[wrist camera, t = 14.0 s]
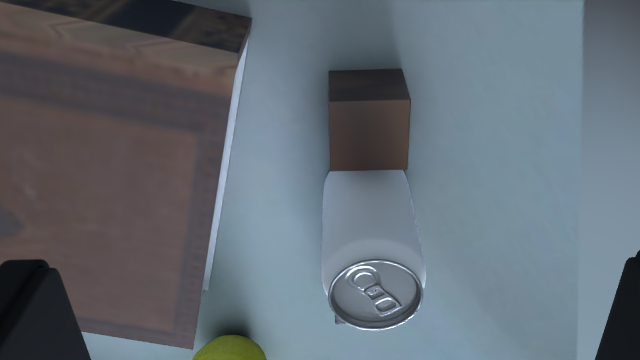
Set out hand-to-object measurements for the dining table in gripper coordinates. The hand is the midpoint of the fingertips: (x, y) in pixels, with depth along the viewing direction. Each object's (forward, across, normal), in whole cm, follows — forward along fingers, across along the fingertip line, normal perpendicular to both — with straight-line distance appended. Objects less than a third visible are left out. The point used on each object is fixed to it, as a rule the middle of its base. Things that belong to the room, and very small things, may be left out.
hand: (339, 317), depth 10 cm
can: (+31, -2, +17) cm, 35 cm away
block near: (+30, -2, +10) cm, 32 cm away
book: (+30, +22, +12) cm, 39 cm away
